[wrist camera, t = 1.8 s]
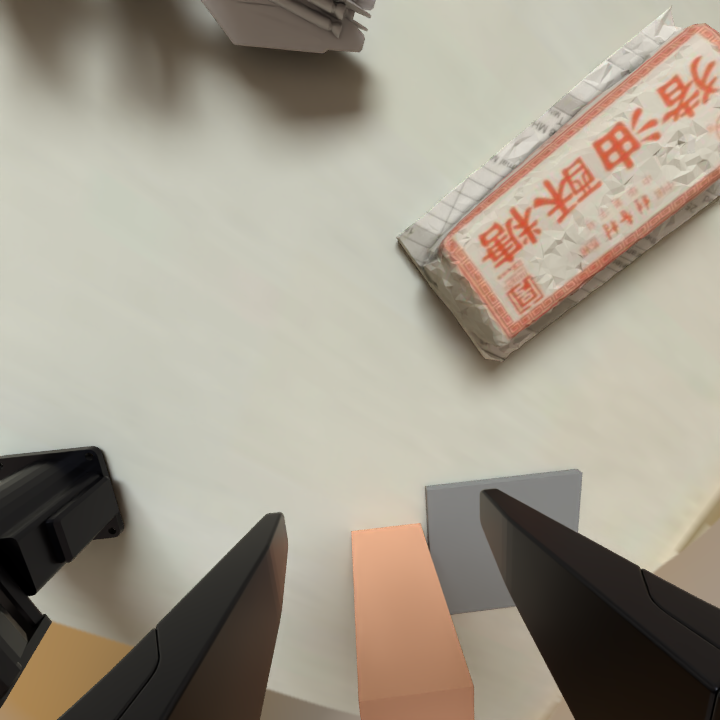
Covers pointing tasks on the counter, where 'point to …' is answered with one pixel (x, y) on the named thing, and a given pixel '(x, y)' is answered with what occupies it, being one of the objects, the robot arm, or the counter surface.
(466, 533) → the gray square plate
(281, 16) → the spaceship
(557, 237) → the packaged product
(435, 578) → the terracotta block
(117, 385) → the counter surface
